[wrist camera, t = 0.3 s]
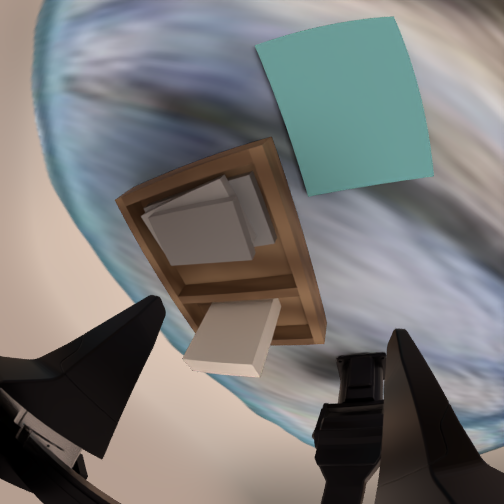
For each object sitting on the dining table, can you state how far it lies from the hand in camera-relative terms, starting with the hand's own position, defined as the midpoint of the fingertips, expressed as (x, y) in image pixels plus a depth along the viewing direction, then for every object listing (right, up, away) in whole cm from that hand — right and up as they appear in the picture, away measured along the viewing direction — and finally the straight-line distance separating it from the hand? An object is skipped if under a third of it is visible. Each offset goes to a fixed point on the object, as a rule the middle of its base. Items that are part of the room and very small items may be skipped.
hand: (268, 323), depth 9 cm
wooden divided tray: (-3, +2, +17) cm, 18 cm away
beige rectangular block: (-1, -3, +19) cm, 19 cm away
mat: (+6, +13, +6) cm, 16 cm away
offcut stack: (-4, +6, +14) cm, 16 cm away
